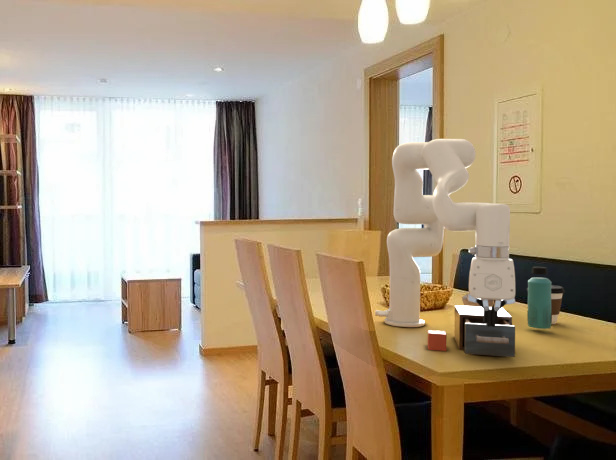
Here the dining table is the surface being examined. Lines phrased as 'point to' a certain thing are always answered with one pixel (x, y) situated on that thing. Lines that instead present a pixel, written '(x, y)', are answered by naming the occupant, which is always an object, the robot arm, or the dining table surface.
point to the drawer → (488, 337)
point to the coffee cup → (556, 301)
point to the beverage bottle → (539, 300)
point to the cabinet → (472, 313)
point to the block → (437, 340)
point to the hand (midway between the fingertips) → (490, 325)
